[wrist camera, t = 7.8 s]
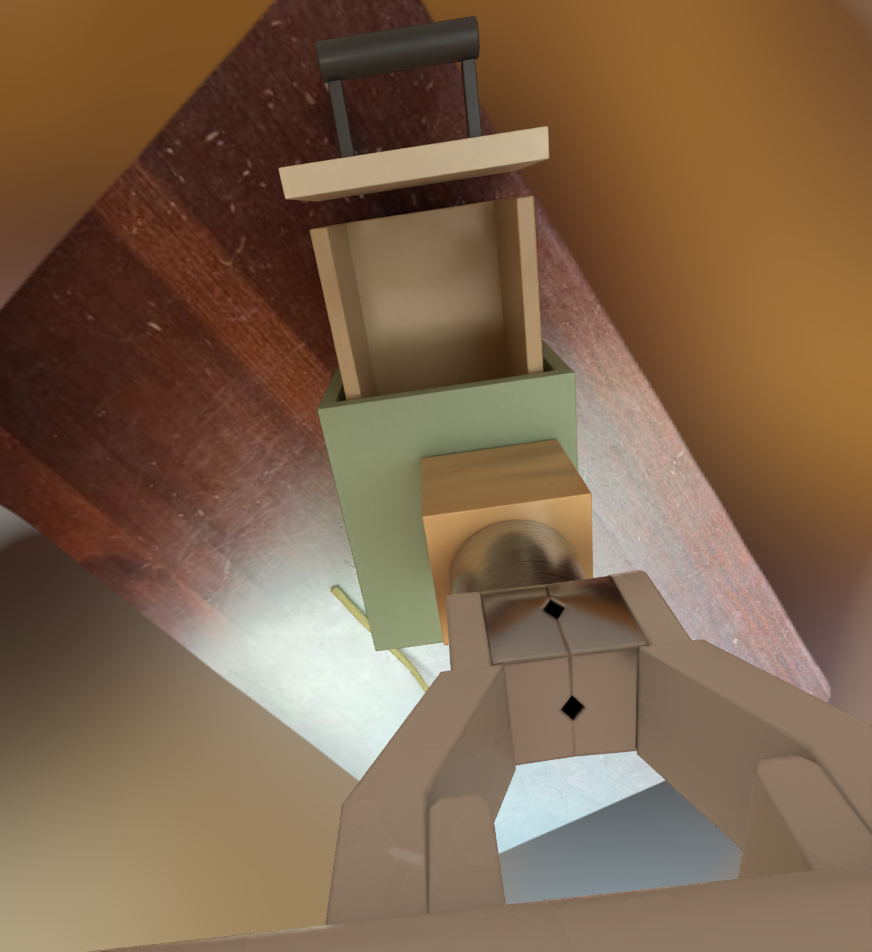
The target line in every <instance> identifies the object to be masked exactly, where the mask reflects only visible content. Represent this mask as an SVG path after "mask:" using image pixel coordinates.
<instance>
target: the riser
mask: <svg viewBox="0 0 872 952" xmlns="http://www.w3.org/2000/svg"><path fill="white" fill-rule="evenodd" d="M421 494H422V519H423V525H424V531H425V537H426V543H427V548H428V554H429V560H430V566H431V572H432V578H433V584H434V589H435V595H436V601H437V607H438V613H439V619H440V625H441V630H442V636H443V642H444V645H449V637H448V623H447V609H446V598H447V595H451V592H450V582H449V572H450V567H451V563H452V561H453V558H454V556H455V554H456V552H457V551H458V549H459V548H460V547H461V545H462V544H463V543H464V542H465V541H466V540H467V539H468V538H469V537H470V536H472V535H473V534H474V533H476V532H477V531H479V530H481V529H482V528H485V527H487V526H489V525H491V524H495V523H498V522H502V521H507V520H530V521H535V522H539V523H542V524H545V525H547V526H549V527H551V528H553V529H555V530H556V531H558V532H559V533H560V534H562V535H563V536H564V537H565V538H566V539H567V541H568V542H569V543H570V545H571V546H572V548H573V550H574V552H575V555H576V557H577V559H578V561H579V563H580V565H581V567H582V569H583V572H584V574H585V576H586V578H587V579H591V578H593V551H592V494H591V492H590V491H589V489H588V487H587V486H586V484H585V483H584V481H583V480H582V478H581V476H580V475H579V473H578V472H577V470H576V468H575V467H574V465H573V464H572V462H571V460H570V459H569V457H568V456H567V454H566V452H565V451H564V449H563V448H562V446H561V444H560V443H559V441H558V440H557V439H555V440H548V441H541V442H534V443H527V444H520V445H512V446H505V447H498V448H491V449H484V450H477V451H470V452H463V453H456V454H449V455H442V456H434V457H427V458H421Z"/></svg>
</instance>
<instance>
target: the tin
mask: <svg viewBox="0 0 872 952" xmlns="http://www.w3.org/2000/svg"><path fill="white" fill-rule="evenodd" d="M584 579H587V578H586V576H585V574H584V572H583V569H582V567H581V565H580V563H579V561H578V559H577V557H576V555H575V552H574V550H573V548H572V546H571V545H570V543H569V542H568V541H567V539H566V538H565V537H564V536H563V535H562V534H560V533H559V532H558V531H556V530H555V529H553V528H551V527H549V526H547V525H545V524H542V523H539V522H535V521H530V520H507V521H502V522H498V523H495V524H491V525H489V526H487V527H485V528H482V529H481V530H479V531H477V532H476V533H474V534H473V535H472V536H470V537H469V538H468V539H467V540H466V541H465V542H464V543H463V544H462V545H461V547H460V548H459V549H458V551H457V552H456V554H455V556H454V558H453V561H452V563H451V567H450V572H449V582H450V592H451V595H454V594H462V593H469V592H477V591H478V592H479V594H480V591H486V590H495V589H505V588H514V587H523V586H533V585H542V584H544V585H547V584H554V583H562V582H569V581H576V580H584Z"/></svg>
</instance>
